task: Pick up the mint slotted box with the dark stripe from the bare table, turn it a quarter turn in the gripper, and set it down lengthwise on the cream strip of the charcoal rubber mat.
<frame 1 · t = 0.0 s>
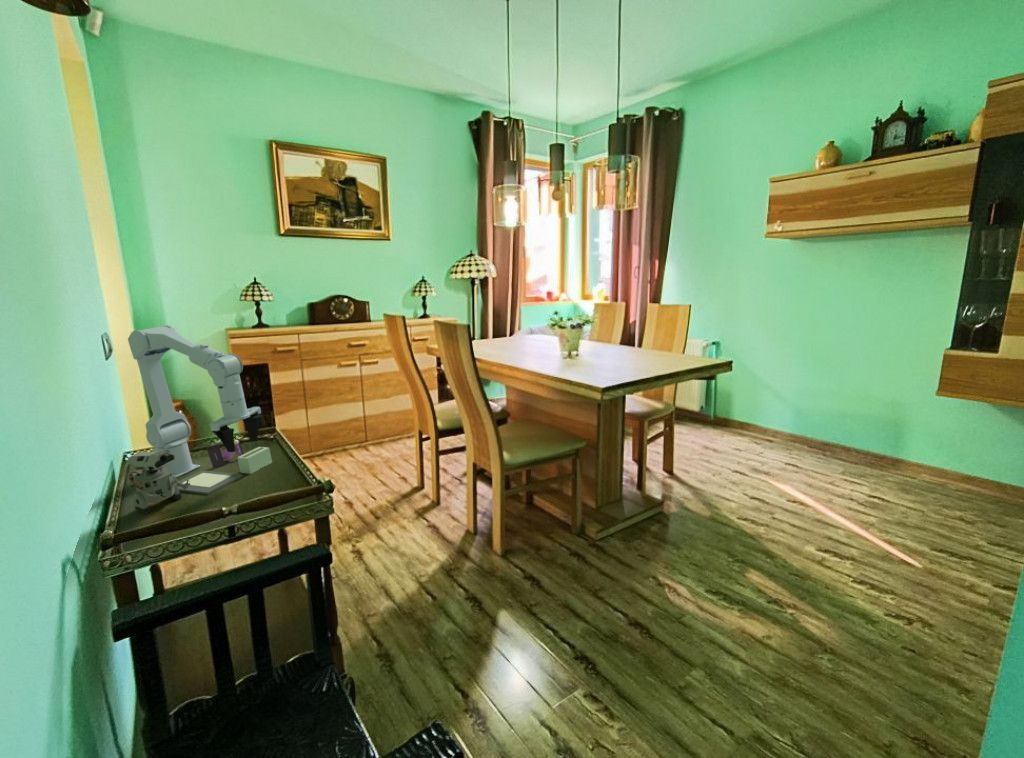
hand: (243, 446, 132), 10 cm above the table, tool pointing down, fingers open, 7 cm apart
mat: (205, 482, 135), on the table
figurine: (164, 506, 122), on the table
game card: (227, 462, 149), on the table
mint slotted box: (256, 467, 143), on the table
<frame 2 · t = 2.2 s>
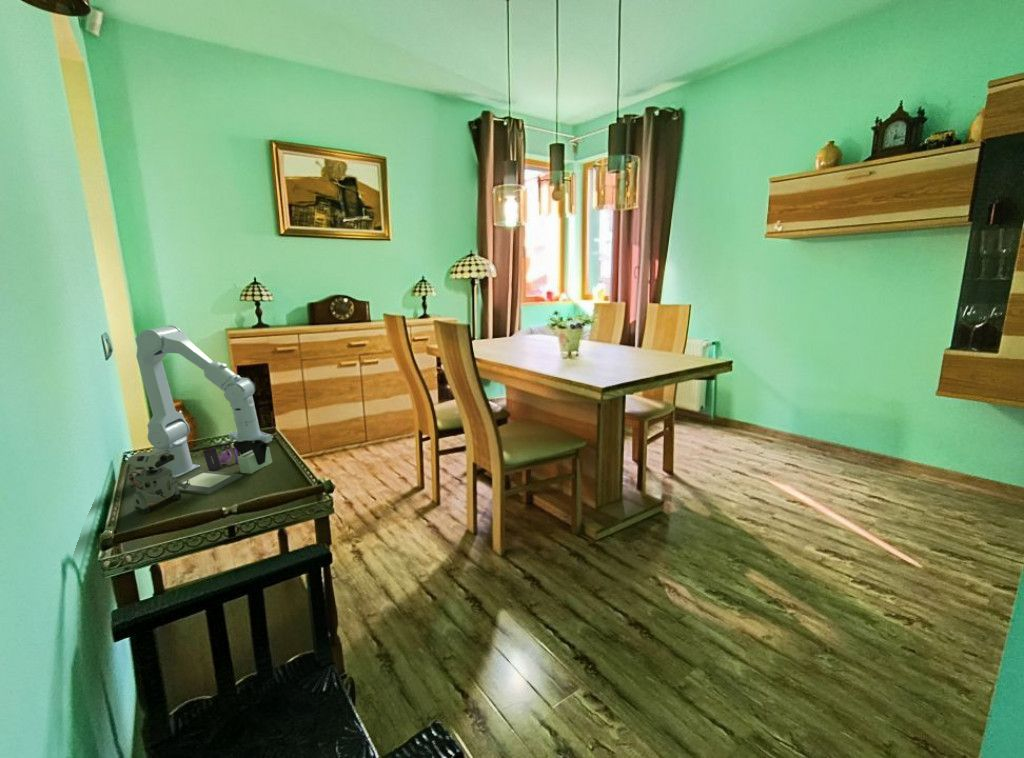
hand: (255, 462, 142), 1 cm above the table, tool pointing down, fingers closed on mint slotted box, 4 cm apart
game card: (224, 466, 146), on the table
mint slotted box: (256, 467, 143), on the table, touching gripper
everything else where it was.
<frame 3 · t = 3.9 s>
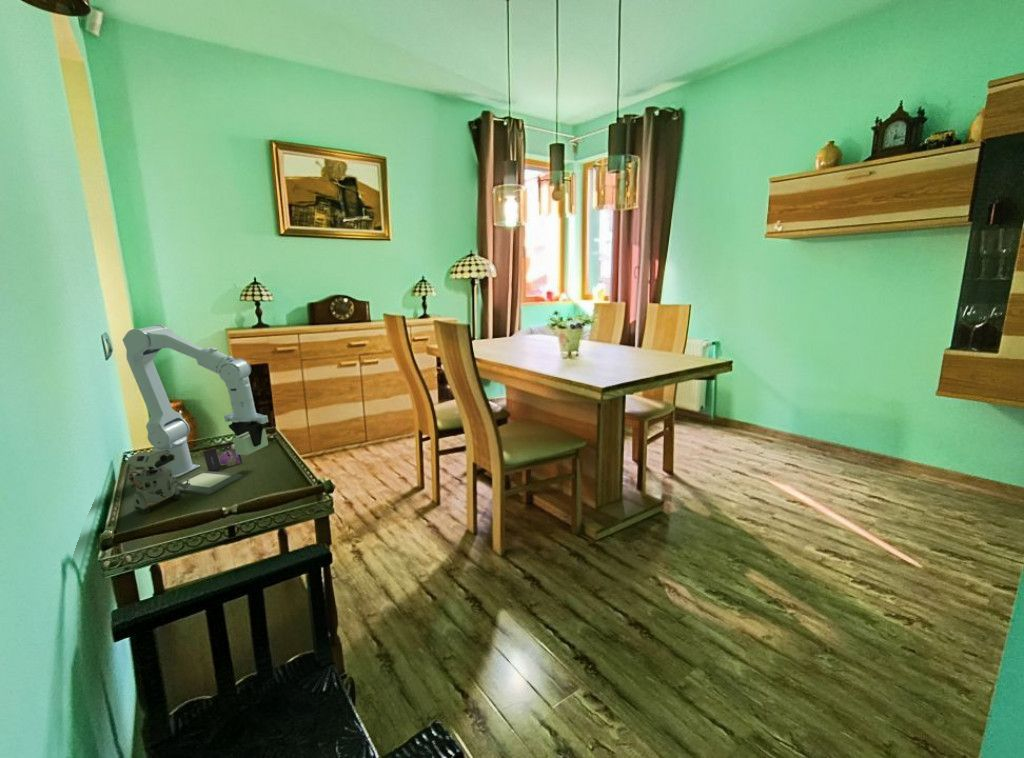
hand: (251, 444, 141), 7 cm above the table, tool pointing down, fingers closed on mint slotted box, 4 cm apart
game card: (224, 467, 146), on the table
mint slotted box: (252, 449, 141), point 6 cm above the table, touching gripper
everything else where it was.
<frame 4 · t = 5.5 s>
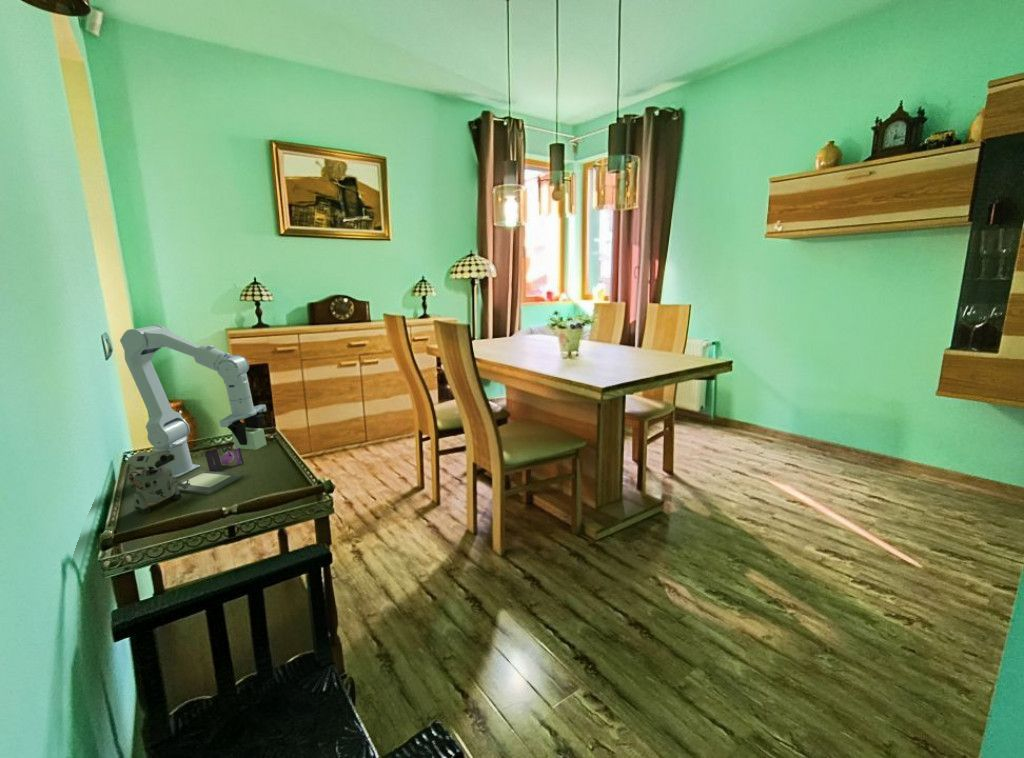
hand: (249, 441, 141), 8 cm above the table, tool pointing down, fingers closed on mint slotted box, 4 cm apart
mint slotted box: (250, 446, 141), point 7 cm above the table, touching gripper
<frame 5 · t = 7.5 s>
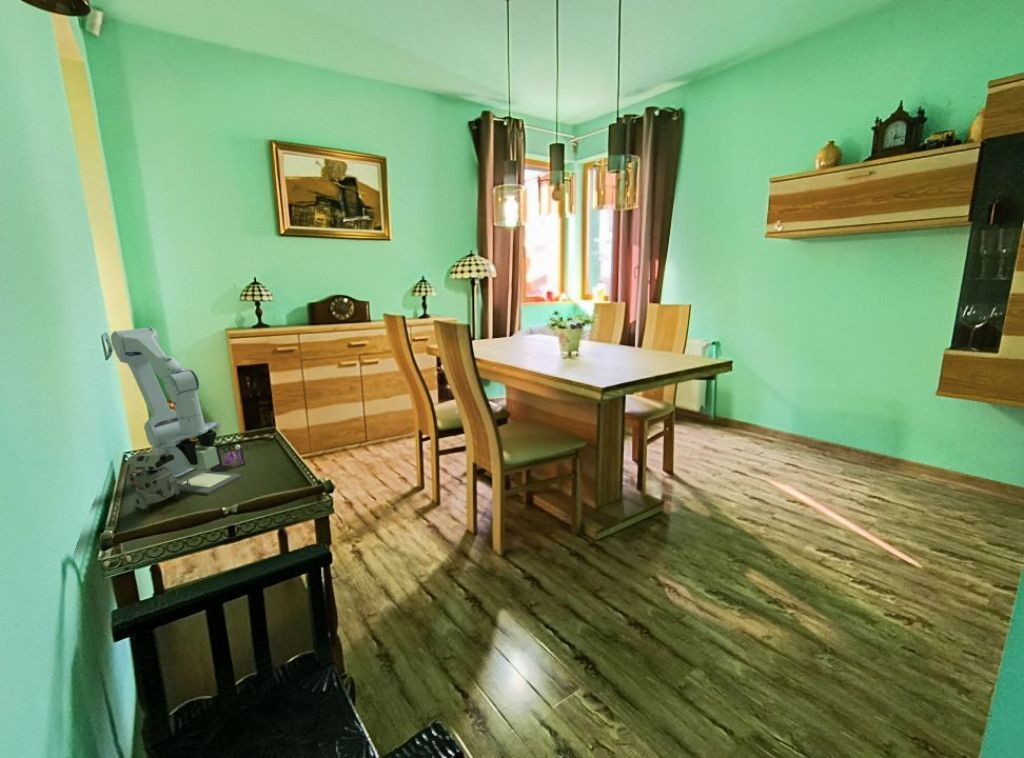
hand: (201, 460, 133), 7 cm above the table, tool pointing down, fingers closed on mint slotted box, 4 cm apart
mint slotted box: (202, 465, 134), point 5 cm above the table, touching gripper
when the fingers open (3 cm above the table, at t = 9.0 s): mint slotted box stays where it is, resting on mat.
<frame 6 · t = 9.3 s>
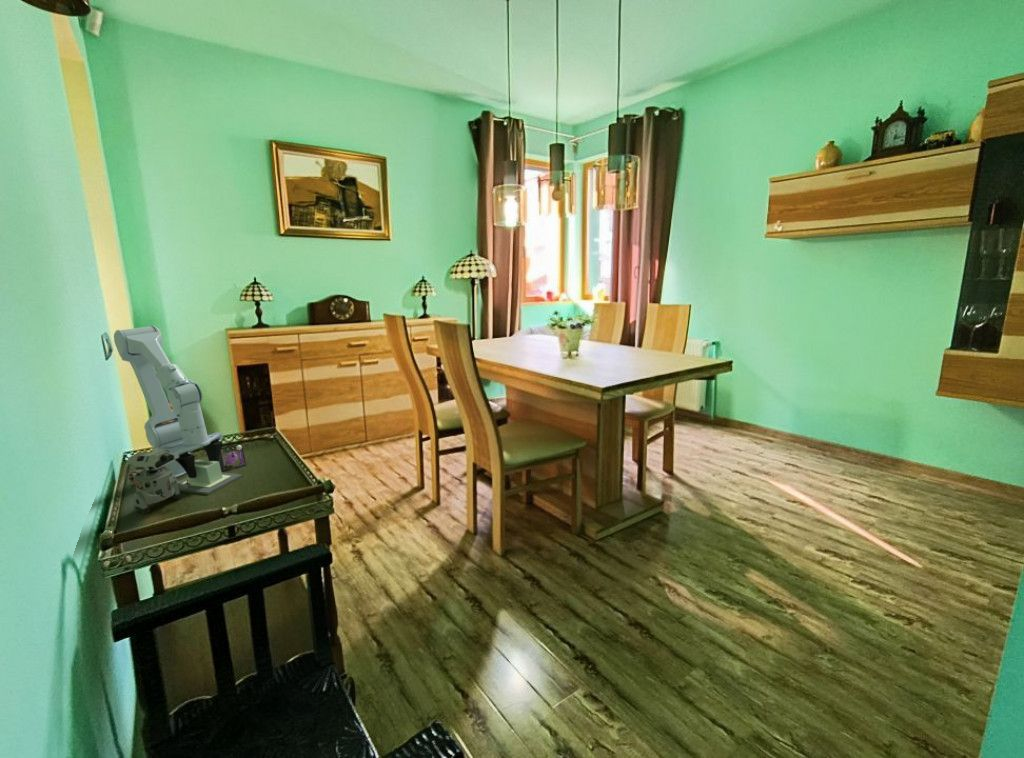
hand: (204, 471, 134), 3 cm above the table, tool pointing down, fingers open, 6 cm apart
mint slotted box: (206, 479, 135), point 1 cm above the table, touching mat
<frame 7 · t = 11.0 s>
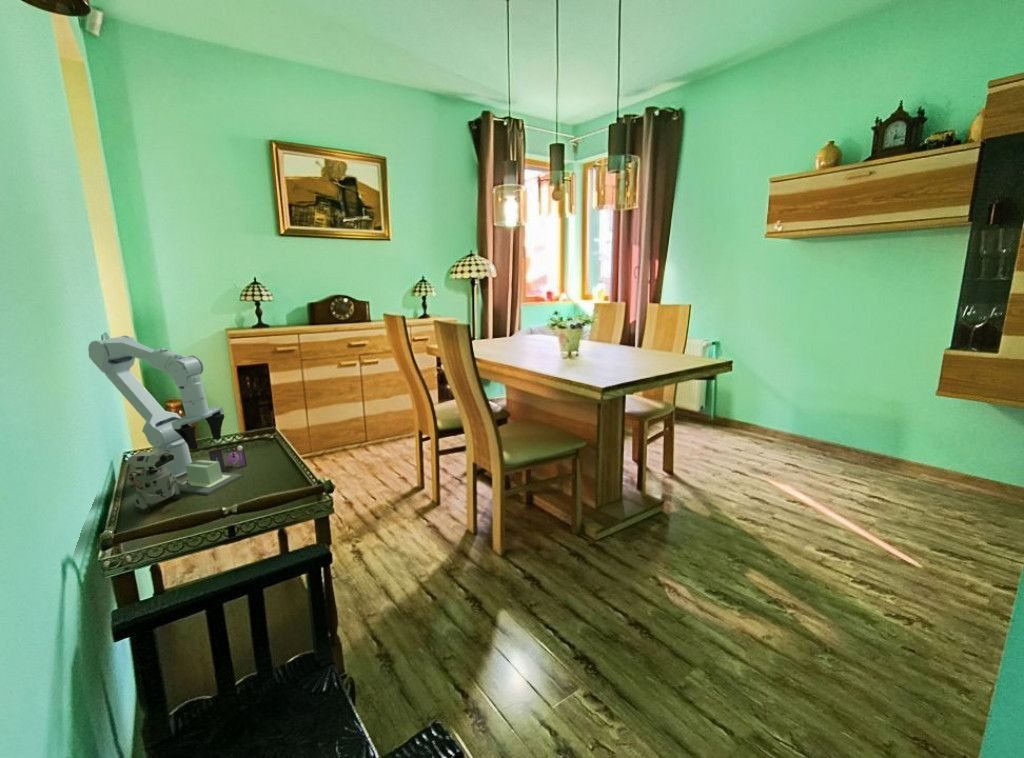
hand: (205, 443, 138), 9 cm above the table, tool pointing down, fingers open, 7 cm apart
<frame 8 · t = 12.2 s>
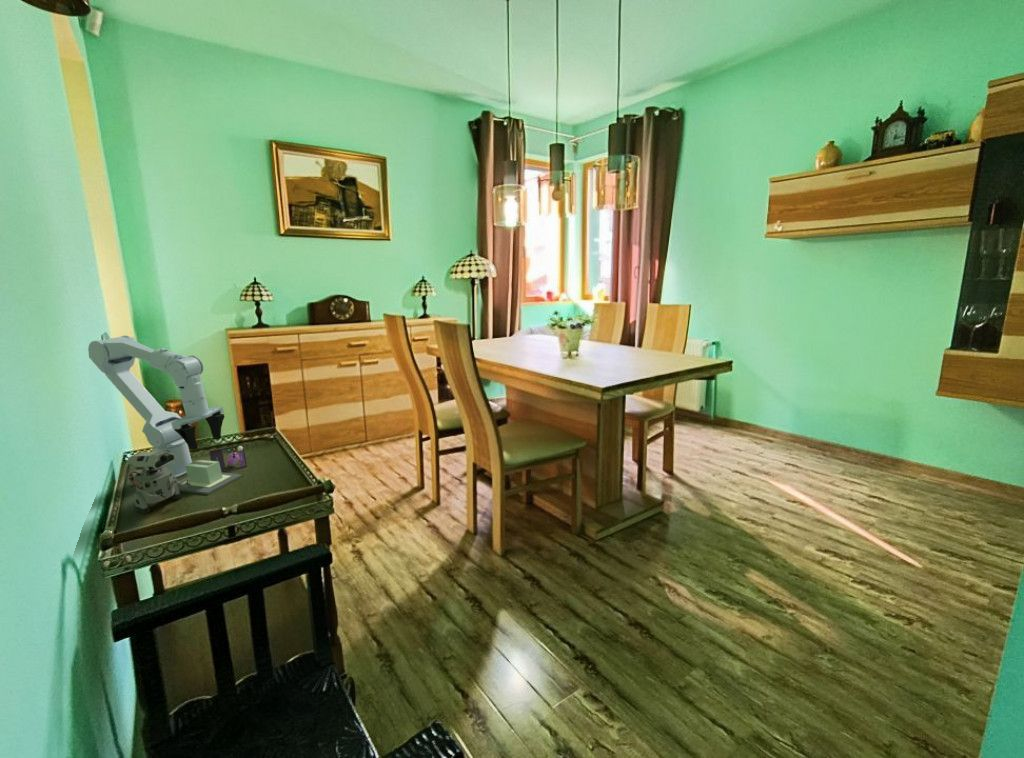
hand: (205, 443, 138), 9 cm above the table, tool pointing down, fingers open, 7 cm apart
at the end: mint slotted box inside the target area on the mat (0.2 cm from its centre), point 0.7 cm above the mat's base; mint slotted box tilted 0°; the gripper is holding nothing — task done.
